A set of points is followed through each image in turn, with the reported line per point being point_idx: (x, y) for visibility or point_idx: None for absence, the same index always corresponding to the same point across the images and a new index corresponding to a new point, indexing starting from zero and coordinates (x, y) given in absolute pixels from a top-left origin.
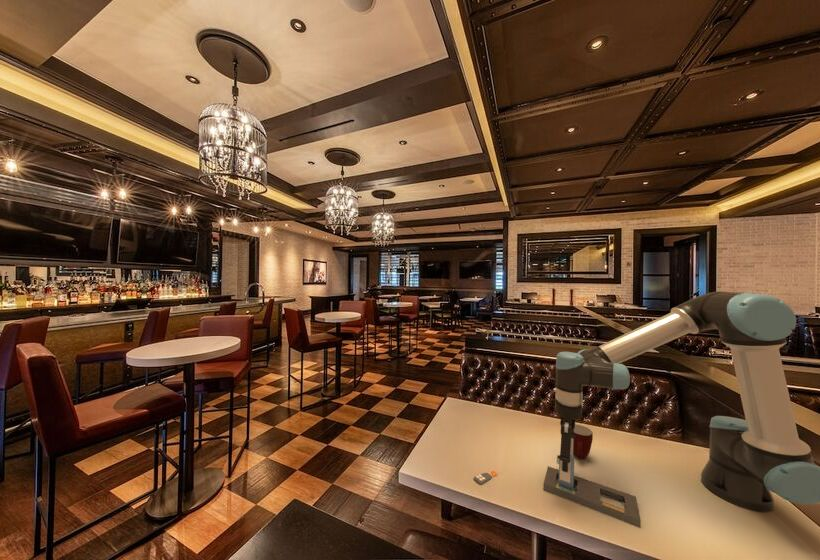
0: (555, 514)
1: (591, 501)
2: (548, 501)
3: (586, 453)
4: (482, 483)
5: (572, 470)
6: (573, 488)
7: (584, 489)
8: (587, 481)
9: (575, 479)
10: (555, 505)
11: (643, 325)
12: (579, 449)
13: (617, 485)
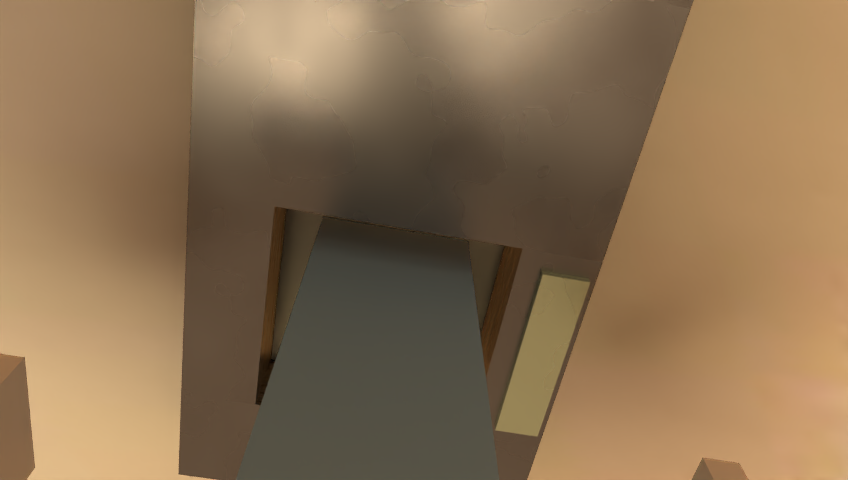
0: (795, 405)
1: (649, 111)
2: (647, 442)
3: None
4: None
5: (492, 448)
6: (388, 238)
7: (436, 154)
8: (236, 87)
9: (273, 229)
10: (682, 397)
11: None
12: None
13: None
